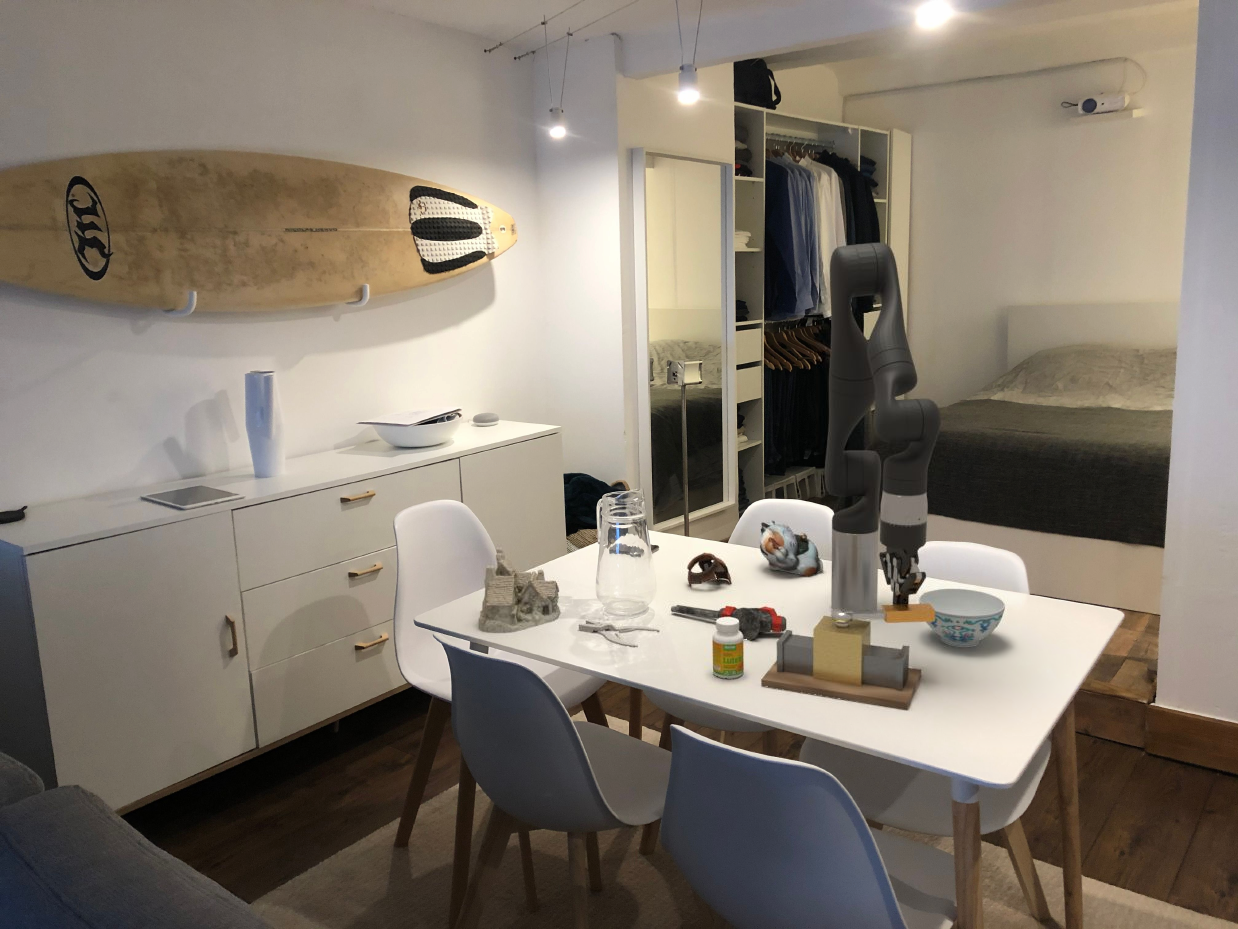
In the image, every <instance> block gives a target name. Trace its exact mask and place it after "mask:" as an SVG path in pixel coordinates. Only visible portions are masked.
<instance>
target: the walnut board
mask: <svg viewBox="0 0 1238 929" xmlns="http://www.w3.org/2000/svg"><path fill="white" fill-rule="evenodd" d="M922 673H923V672H922V669H921V668H914V667H909V677H908V679H907V682H906V684H905V686H904V688H903V690H902V691H897V690H896V689H893V688H886V687H880V686H873V685H867V684H862V685H861V686H857V685H850V684H844V683H837V682H831V681H825V680H818V679H813V676H808V675H802V674H796V673H789V672H783V673H781V672H777V660H775V662H774V663H773V664H772V665H771V667H770V668H769V669H768V671H767V672H766V673H765V674H764V675H763V677H762V678H761V680H760V682H761V685H760V686H761V687H764V686H768V687H767V688H770V687H773V688H772V689H776V688H778V689H777V690H782V689H784V690H783V691H788V690H791V691H790V692H795V691H796V692H795V693H801V692H802V693H801V694H807V693H810V695H813V694H816V695H815V696H819V695H822V696H821V697H825V696H828V698H831V697H834V698H833V699H837V698H840V699H839V700H844V699H846V700H845V701H850V700H852V701H851V702H856V701H858V702H857V703H862V702H863V703H864V704H870V705H876V706H881V707H888V708H895V709H898V710H899V709H900V710H906V711H908V708H910V704H911V701H912V699H913V697H914V695H915V692H916V690H917V687H918V685H919V683H920V680H921V678H922Z"/></svg>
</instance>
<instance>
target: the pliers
mask: <svg viewBox="0 0 1238 929" xmlns="http://www.w3.org/2000/svg"><path fill="white" fill-rule="evenodd" d="M607 630H609V631H610V632H608V631H607ZM578 631H580V632H587V633H591V634H593V633H594V631H595V632H596V633H597V634H599V635H602V636H603V637H604V639H606V640H607V641H609V642H611V643H613V644H616V645H618V644H619V646H621V647H622V646H623V647H627V646H629V647H630V648H635V647H637V648H638V644H636V643H635V644H634V643H631V642H627V641H624V640H622V639H621V636H620V634H623V633H624V634H626V633H631V632H632V633H633V632H634V631H646V632H654V631H657V632H656V633H659V632H660V629H658V628H654V627H649V626H644V625H643V626H642V625H641V626H639V625H621V626H620V625H619V626H615V625H614V624H613V623H611V622H602V623H601V621H597V620H591V619H586V620H585V623H579V624H578ZM611 632H615V634H614V635H615V636H616V637H617V638H616V637H615V636H613V634H612V633H611ZM617 632H618V633H617Z"/></svg>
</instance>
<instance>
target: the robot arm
mask: <svg viewBox="0 0 1238 929" xmlns="http://www.w3.org/2000/svg"><path fill="white" fill-rule="evenodd" d="M900 286H901V285H900V279H899V273H898V266H897V260H896V257H895V253H894V252H893V249H892V248H891V247H890V245H889V244H888V243H886V242H871V243H870V242H869V243H862V244H861V243H859V244H850V245H843V246H838V247H836V248H835V249H833V252H832V254H831V256H830V263H829V293H830V294H829V295H830V316H831V317H830V318H831V326H830V327H831V328H830V329H831V330H830V333H831V334H830V336H831V337H830V354H829V357H830V358H829V370H828V372H829V373H828V430H827V432H828V433H827V442H826V443H827V444H826V454H825V462H824V464H825V465H824V485H825V489H826V491H827V493H828V494H829V496H832V497H833V496H834V497H862V498H861V499H860V500H859V501H858V502H856V503H855V504H854V505H851V506H849V507H847V508H844V509H841V510H838V511H836V512H835V513H834V514H832V518H831V585H830V586H831V588H830V589H831V592H830V593H831V594H830V595H831V596H830V598H831V600H830V602H831V603H830V604H831V607H830V608H831V611H832V610H833V609H837V608H845V609H850V610H869V609H878V587H879V586H878V584H879V583H878V578H879V560H880V563H881V568H882V572H883V575H884V579H885V582H886V584H887V586H890V591H891V592H892V605H899V604H910V603H909V599H910V596H911V595H917V593H918V592H919V590H920V588H921V587H922V585H923V583H924V582H925V580H926V579H927V573H926V572H925V571H920V567H918V565H919V563H920V558H919V557H920V556H919V550H920V549H921V548H923V547H925V545H926V543H927V526H928V525H927V523H928V497H927V494H928V493H927V490H928V489H927V488H928V468H929V466H930V465H929V464H930V461H931V457H932V454H933V452H934V448H935V445H936V442H937V439H938V436H939V433H940V430H941V426H942V415H941V412H940V409H939V406H938V405H937V403H936V402H935V401H934V400H932V399H930V398H911V399H909V398H907V399H897V397H900V396H903V395H905V394H907V393H910V392H911V391H912V390H914V389H915V388H916V386H917V383H918V375H917V370H916V367H915V364H914V359H913V356H912V353H911V350H910V346H909V341H908V337H907V334H906V333H907V332H906V328H905V318H904V310H903V302H902V301H903V300H902V294H901V287H900ZM867 296H879V298H880V302H881V304H880V306H881V307H880V311H879V314H878V317H877V320H876V322H875V324H874V327H873V329H872V330H871V333H870V336H869V338H868V339H867V338H866V336H865V335H864V334H863V332H862V331H861V328H860V327H859V324H857V322H856V318H855V316H854V314H853V309H852V299H853V298H855V297H867ZM873 404H874V412H873V413H874V414H873V430H874V432H875V434H876V436H878V438H879V439H880V440H881V441H883V442H885V443H890V444H896V443H897V444H898V443H910V444H909V445H908V447H907V448H906V449H905V450H904V451H901V452H899V453H895V454H893V455H890V456H888V457H887V458H886V459H885V460H884V462H883V469H882V462H881V458H880V455H879V454H878V452H877V451H874V450H845V447H846V444H847V442H848V439H849V437H850V436H851V435H852V433H853V431H854V429H855V428H856V426H857V425H858V424H859V422H860V421H861V420H862V418H864V416H865V415H866V414H867V413H868V411H869V410H870V409H871V407H872V406H873ZM882 470H883V472H882ZM882 473H883V474H882ZM882 476H883V477H882ZM881 479H882V495H881V501H880V491H881ZM879 508H880V510H879ZM879 511H880V513H879ZM879 514H880V517H879ZM879 518H880V519H879ZM879 520H880V521H879ZM879 522H880V523H879ZM879 525H880V526H879ZM879 527H880V528H879ZM879 541H880V543H881V545H882V546H883V545H884V546H885V547H886V548H885V549H886V550H885V551H881V552H879Z"/></svg>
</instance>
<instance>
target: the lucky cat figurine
mask: <svg viewBox="0 0 1238 929" xmlns="http://www.w3.org/2000/svg"><path fill="white" fill-rule="evenodd" d="M760 526H761V528H760V533H761V537H760V539H759V549H760V550H759V551H760V553H761V555H762V556H763V557H764V558H765V559H766V561H768V567H769V570H770V571H781V572H788V573H791V574H796V575H802V576H805V577H812V576H816V575H817V574H818V573H819V572H821V571H823V569H824V565H823V564H824V563H823V561H822V560H821V559H820V558H819V550H818V547H817V546H816V545H815V544H814V542H813V541H812V540H811V539H809V538H808V534H806V533H805V532H802V533H800V534H798V533H794V532H793V530H791V528H790V526H788V525H787V524H783V523H777V524H776V523H775V520H768V521H767V523H766V522H761V525H760Z"/></svg>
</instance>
